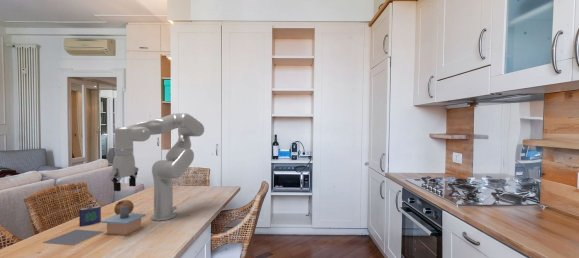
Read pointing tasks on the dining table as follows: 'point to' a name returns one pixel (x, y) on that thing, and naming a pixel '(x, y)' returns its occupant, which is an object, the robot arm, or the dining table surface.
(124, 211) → the lid
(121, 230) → the open cube shelf
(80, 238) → the mat
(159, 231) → the dining table surface
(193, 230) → the dining table surface
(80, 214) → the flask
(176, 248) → the dining table surface
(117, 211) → the coconut
